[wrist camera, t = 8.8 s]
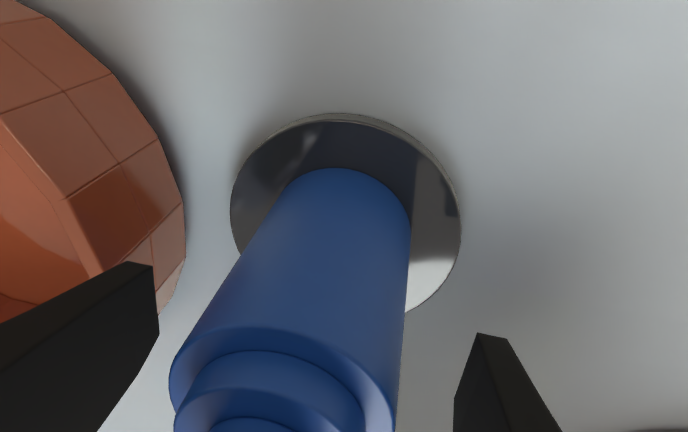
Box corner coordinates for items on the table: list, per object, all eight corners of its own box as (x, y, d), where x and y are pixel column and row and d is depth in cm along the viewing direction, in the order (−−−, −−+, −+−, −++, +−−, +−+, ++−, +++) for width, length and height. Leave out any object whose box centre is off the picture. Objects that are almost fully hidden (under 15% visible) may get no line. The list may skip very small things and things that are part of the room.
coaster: (432, 330, 16) (432, 342, 15) (235, 289, 17) (229, 299, 16) (488, 136, 13) (490, 144, 12) (237, 93, 13) (228, 99, 13)
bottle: (397, 300, 15) (351, 720, 7) (269, 274, 15) (78, 643, 7) (424, 181, 13) (407, 581, 5) (275, 154, 13) (14, 480, 5)
